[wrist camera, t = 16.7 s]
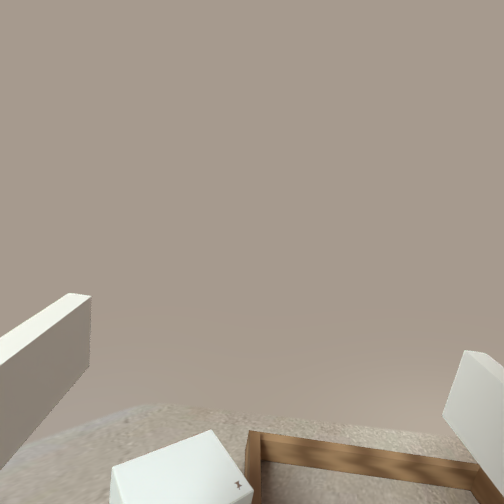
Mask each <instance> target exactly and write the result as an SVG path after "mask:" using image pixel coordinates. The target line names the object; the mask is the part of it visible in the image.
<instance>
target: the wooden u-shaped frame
mask: <svg viewBox="0 0 504 504" xmlns="http://www.w3.org/2000/svg"><path fill="white" fill-rule="evenodd" d="M261 460H265V461H272V462H278V463H285V464H292V465H299V466H306V467H313V468H320V469H327V470H334V471H341V472H348V473H354V474H361V475H368V476H375V477H382V478H389V479H396V480H403V481H410V482H417V483H424V484H430V485H437V486H444V487H451V488H458V489H465V490H470V491H471V492H472V493H473V495H474V496H475V498H476V499H477V501H478V502H479V504H504V497H503V495H502V494H501V493H500V491H499V490H498V489H497V487H496V486H495V485H494V484H493V482H492V481H491V480H490V478H489V477H488V476H487V474H486V473H485V472H484V470H483V469H482V468H481V466H480V465H479V464H474V463H467V462H460V461H454V460H447V459H440V458H433V457H426V456H420V455H413V454H406V453H399V452H393V451H386V450H379V449H372V448H365V447H359V446H352V445H345V444H338V443H331V442H325V441H318V440H311V439H304V438H298V437H291V436H284V435H277V434H270V433H264V432H257V431H250V430H249V434H248V439H247V444H246V449H245V476H244V477H245V478H246V480H247V481H248V483H249V484H250V485H251V487H252V488H253V489H254V493H253V498H252V502H251V504H261Z"/></svg>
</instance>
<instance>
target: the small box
mask: <svg viewBox="0 0 504 504" xmlns="http://www.w3.org/2000/svg"><path fill="white" fill-rule="evenodd" d="M253 493H254V489H253V488H252V487H251V485H250V484H249V483H248V481H247V480H246V478H245V477H244V475H243V474H242V472H241V471H240V469H239V468H238V466H237V465H236V464H235V462H234V461H233V459H232V458H231V456H230V455H229V454H228V452H227V451H226V449H225V448H224V447H223V445H222V444H221V442H220V441H219V439H218V438H217V436H216V435H215V434H214V432H213V431H212V429H210V430H207V431H205V432H202V433H200V434H197V435H194V436H192V437H189V438H186V439H184V440H181V441H179V442H176V443H173V444H171V445H168V446H165V447H163V448H160V449H158V450H155V451H153V452H150V453H147V454H144V455H142V456H139V457H137V458H134V459H131V460H129V461H126V462H123V463H121V464H118V465H115V466H113V467H112V473H111V486H110V500H109V504H251V502H252V498H253Z"/></svg>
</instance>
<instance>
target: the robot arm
mask: <svg viewBox="0 0 504 504" xmlns="http://www.w3.org/2000/svg"><path fill="white" fill-rule="evenodd" d="M90 328H91V296H87V295H81V294H73V293H68V294H67V295H65V296H64V297H62V298H60V299H59V300H57V301H56V302H54V303H53V304H51V305H50V306H48V307H47V308H45V309H44V310H42V311H41V312H39V313H37V314H36V315H34V316H33V317H31V318H30V319H28V320H27V321H25V322H24V323H22V324H21V325H19V326H17V327H16V328H14V329H13V330H11V331H10V332H8V333H7V334H5V335H4V336H2V337H1V338H0V470H1V469H2V468H3V467H4V466H5V464H6V463H7V462H8V461H9V460H10V459H11V457H12V456H13V455H14V454H15V453H16V452H17V450H18V449H19V448H20V447H21V446H22V445H23V443H24V442H25V441H26V440H27V439H28V437H29V436H30V435H31V434H32V433H33V432H34V430H35V429H36V428H37V427H38V426H39V425H40V424H41V422H42V421H43V420H44V419H45V418H46V416H47V415H48V414H49V413H50V412H51V411H52V409H53V408H54V407H55V406H56V405H57V404H58V402H59V401H60V400H61V399H62V398H63V396H64V395H65V394H66V393H67V392H68V391H69V390H70V388H71V387H72V386H73V385H74V384H75V382H76V381H77V380H78V379H79V378H80V377H81V376H82V374H83V373H84V372H85V370H86V369H87V368H88V367H89V357H90ZM442 416H443V418H444V419H445V420H446V422H447V423H448V424H449V426H450V427H451V428H452V430H453V431H454V432H455V433H456V435H457V436H458V437H459V439H460V440H461V441H462V443H463V444H464V445H465V447H466V448H467V449H468V451H469V452H470V453H471V455H472V456H473V457H474V459H475V460H476V461H477V462H478V464H479V465H480V466H481V468H482V469H483V470H484V472H485V473H486V474H487V476H488V477H489V478H490V480H491V481H492V482H493V484H494V485H495V486H496V487H497V489H498V490H499V491H500V493H501V494H502V495H503V497H504V367H503V366H501V365H500V364H499V363H498V362H496V361H495V360H494V359H493V358H491V357H490V356H489V355H488V354H486V353H482V352H474V351H467V350H464V353H463V356H462V359H461V362H460V366H459V368H458V371H457V374H456V376H455V379H454V382H453V385H452V388H451V391H450V394H449V397H448V400H447V402H446V405H445V409H444V411H443V414H442Z"/></svg>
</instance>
